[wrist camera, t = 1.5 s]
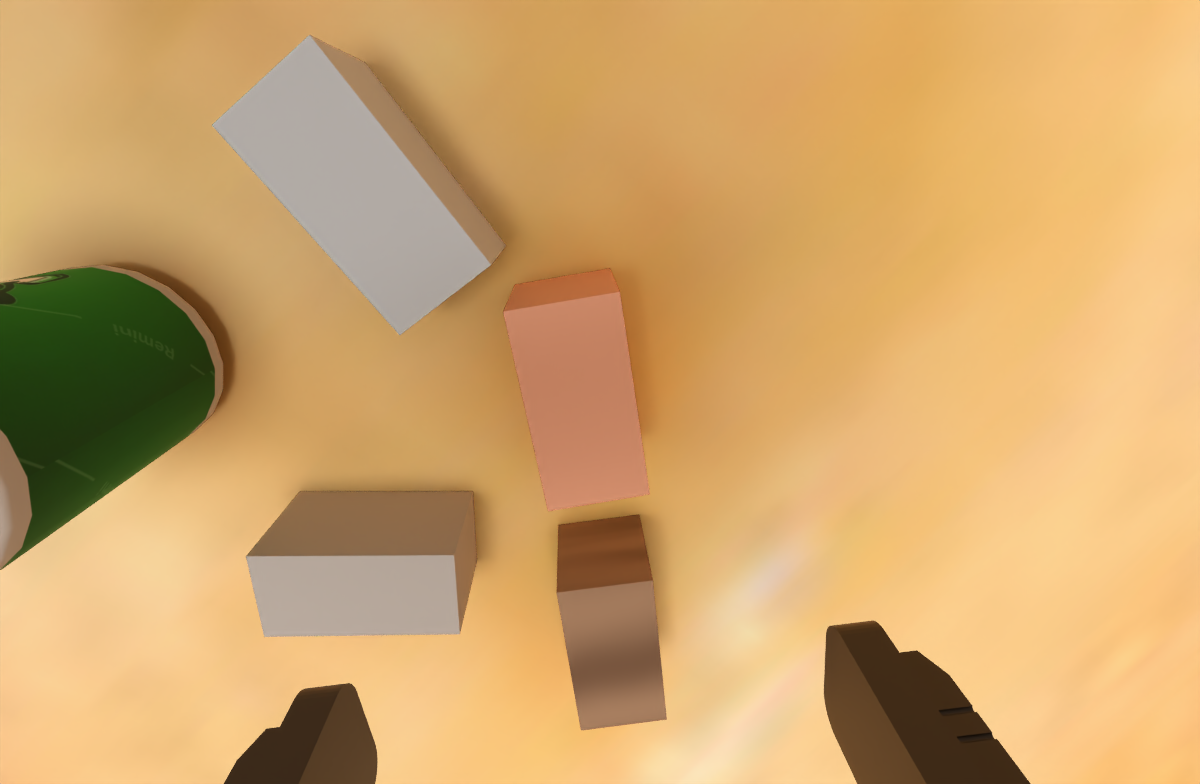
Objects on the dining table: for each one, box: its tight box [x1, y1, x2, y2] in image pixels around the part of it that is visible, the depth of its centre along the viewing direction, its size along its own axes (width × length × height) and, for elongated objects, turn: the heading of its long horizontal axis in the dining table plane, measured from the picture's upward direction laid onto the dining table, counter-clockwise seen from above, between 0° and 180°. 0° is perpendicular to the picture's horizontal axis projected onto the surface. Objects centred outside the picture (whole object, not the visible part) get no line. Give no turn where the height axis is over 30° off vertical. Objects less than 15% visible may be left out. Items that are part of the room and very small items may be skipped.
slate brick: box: [246, 491, 477, 637], centre depth 26 cm, size 8×4×5 cm, turn 88°
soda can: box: [0, 265, 223, 570], centre depth 19 cm, size 8×8×12 cm
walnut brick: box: [557, 515, 667, 730], centre depth 28 cm, size 8×4×5 cm, turn 7°
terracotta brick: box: [503, 268, 650, 511], centre depth 23 cm, size 8×4×5 cm, turn 9°
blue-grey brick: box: [212, 35, 506, 335], centre depth 21 cm, size 8×4×5 cm, turn 36°
